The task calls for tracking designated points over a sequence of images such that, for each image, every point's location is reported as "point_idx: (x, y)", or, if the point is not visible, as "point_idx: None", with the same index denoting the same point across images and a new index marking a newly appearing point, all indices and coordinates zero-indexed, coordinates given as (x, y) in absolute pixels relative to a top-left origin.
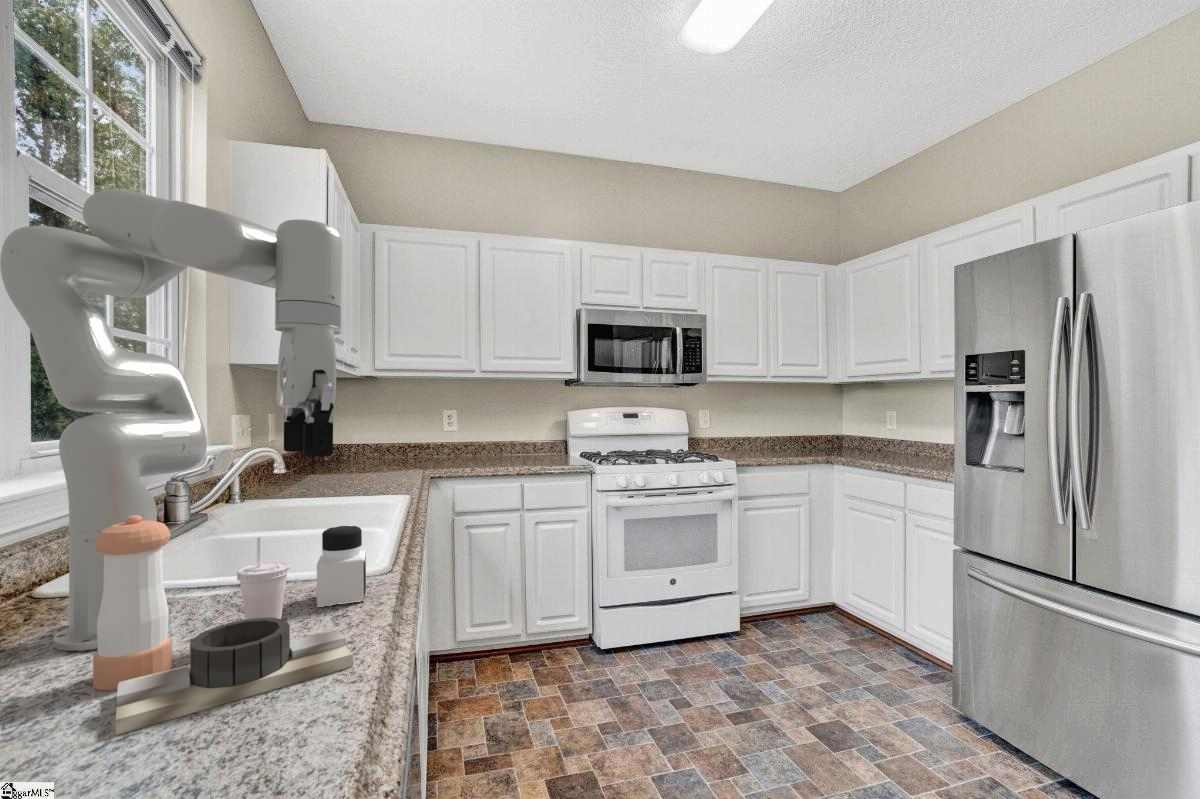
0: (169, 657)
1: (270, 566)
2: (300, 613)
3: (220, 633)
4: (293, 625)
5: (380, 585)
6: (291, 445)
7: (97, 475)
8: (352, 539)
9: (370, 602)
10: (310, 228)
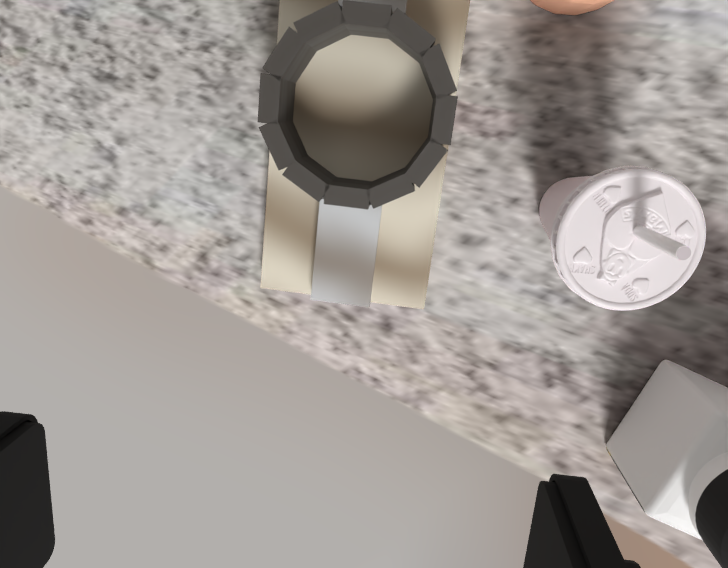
0: (546, 1)
1: (616, 258)
2: (663, 318)
3: (429, 80)
4: None
5: None
6: (539, 532)
7: None
8: (710, 538)
9: (590, 454)
10: None
